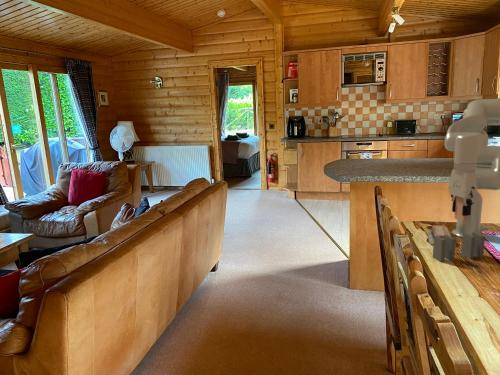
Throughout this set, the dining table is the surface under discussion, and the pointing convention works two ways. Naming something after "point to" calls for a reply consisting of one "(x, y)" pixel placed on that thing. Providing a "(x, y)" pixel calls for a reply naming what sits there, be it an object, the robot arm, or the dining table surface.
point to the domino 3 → (459, 209)
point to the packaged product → (437, 233)
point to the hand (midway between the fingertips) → (461, 213)
